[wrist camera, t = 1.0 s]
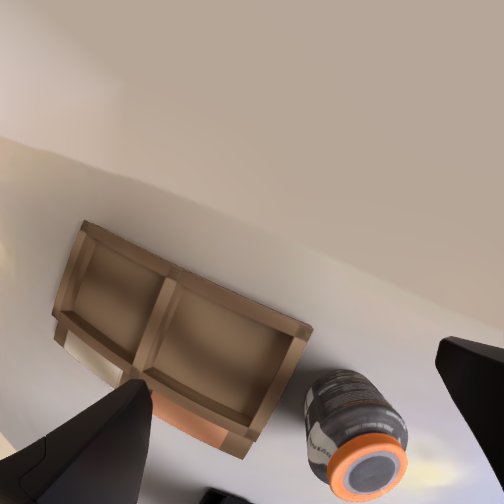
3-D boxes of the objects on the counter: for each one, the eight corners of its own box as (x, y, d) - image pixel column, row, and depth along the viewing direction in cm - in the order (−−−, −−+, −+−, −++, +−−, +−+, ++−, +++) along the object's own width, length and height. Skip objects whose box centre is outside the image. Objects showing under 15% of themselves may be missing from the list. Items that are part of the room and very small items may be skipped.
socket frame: (245, 453, 21) (240, 467, 18) (60, 338, 25) (45, 339, 23) (311, 325, 22) (313, 329, 19) (99, 226, 26) (84, 220, 24)
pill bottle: (289, 413, 21) (283, 495, 10) (330, 356, 21) (361, 406, 10) (347, 442, 20) (374, 524, 9) (387, 387, 20) (448, 445, 9)
